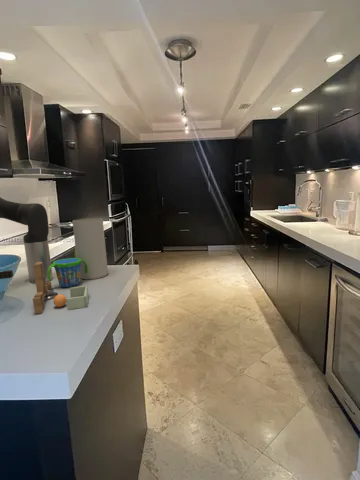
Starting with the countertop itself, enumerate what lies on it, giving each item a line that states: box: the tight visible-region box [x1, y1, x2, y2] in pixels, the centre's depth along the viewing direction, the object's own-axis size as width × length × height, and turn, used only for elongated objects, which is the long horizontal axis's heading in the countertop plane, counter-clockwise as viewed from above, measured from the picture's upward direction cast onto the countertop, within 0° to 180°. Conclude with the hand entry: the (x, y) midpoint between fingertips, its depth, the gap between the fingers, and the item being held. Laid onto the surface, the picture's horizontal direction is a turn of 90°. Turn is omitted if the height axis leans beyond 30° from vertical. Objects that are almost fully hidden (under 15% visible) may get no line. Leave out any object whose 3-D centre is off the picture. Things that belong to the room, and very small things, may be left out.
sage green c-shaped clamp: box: [66, 285, 90, 311], centre depth 99 cm, size 12×6×4 cm, turn 15°
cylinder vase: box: [72, 217, 109, 280], centre depth 129 cm, size 12×12×25 cm
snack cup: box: [47, 257, 88, 288], centre depth 118 cm, size 16×10×10 cm
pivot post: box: [44, 287, 59, 301], centre depth 106 cm, size 7×7×3 cm
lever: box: [32, 262, 53, 315], centre depth 98 cm, size 18×4×14 cm, turn 15°
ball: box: [53, 294, 67, 308], centre depth 96 cm, size 4×4×4 cm
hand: (12, 273), depth 96 cm, fingers closed
